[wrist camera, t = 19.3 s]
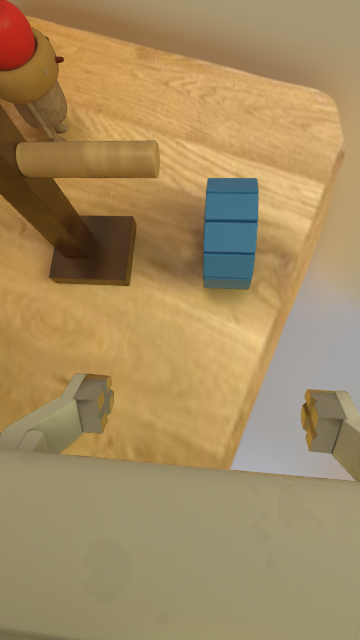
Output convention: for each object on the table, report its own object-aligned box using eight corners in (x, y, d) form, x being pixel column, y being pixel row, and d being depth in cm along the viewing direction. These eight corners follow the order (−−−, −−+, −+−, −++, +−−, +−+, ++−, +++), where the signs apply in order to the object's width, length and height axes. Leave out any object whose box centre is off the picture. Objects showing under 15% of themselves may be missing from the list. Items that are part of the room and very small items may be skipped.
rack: (56, 283, 40) (-92, 170, 20) (66, 222, 42) (-61, 67, 22) (176, 287, 38) (139, 170, 19) (181, 224, 40) (152, 59, 21)
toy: (95, 160, 43) (37, 39, 29) (31, 168, 44) (-57, 54, 30) (95, 105, 46) (41, -33, 31) (34, 113, 46) (-47, -18, 32)
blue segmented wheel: (204, 299, 38) (201, 261, 28) (209, 216, 40) (208, 154, 30) (245, 301, 37) (257, 263, 27) (247, 217, 39) (259, 154, 29)
